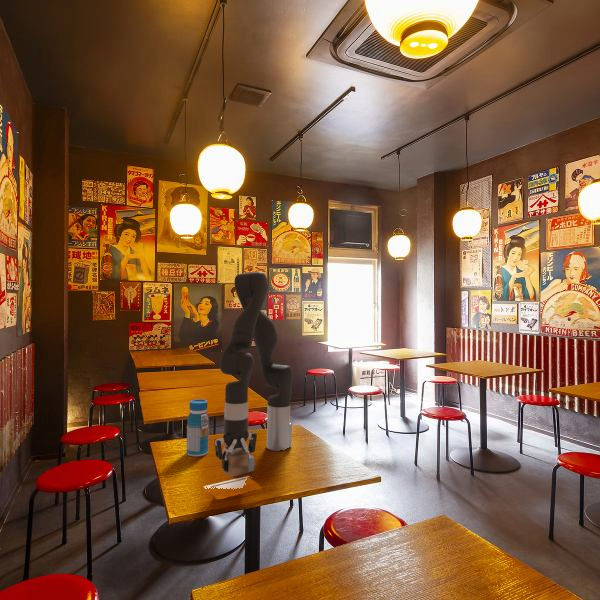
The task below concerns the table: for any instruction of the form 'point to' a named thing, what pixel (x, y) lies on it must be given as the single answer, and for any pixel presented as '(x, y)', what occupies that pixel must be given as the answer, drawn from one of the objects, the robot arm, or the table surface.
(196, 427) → the beverage bottle
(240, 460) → the walnut block
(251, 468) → the slate cube
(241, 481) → the menu card
